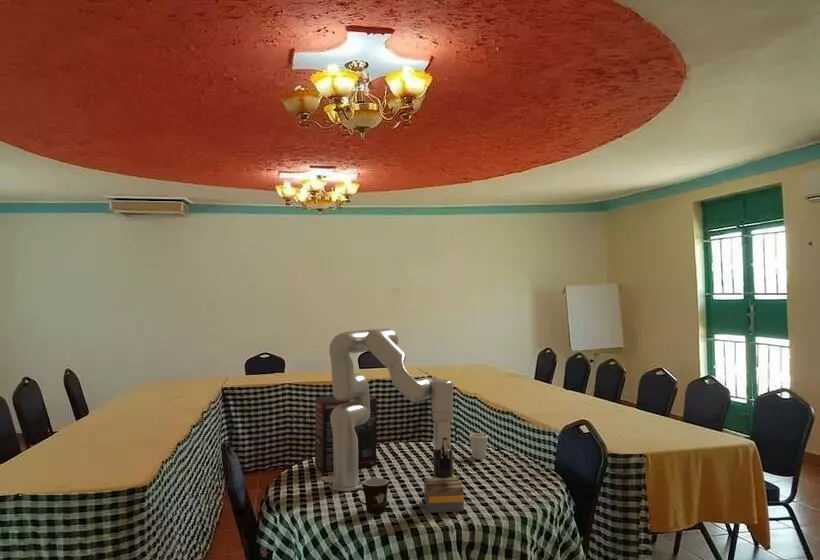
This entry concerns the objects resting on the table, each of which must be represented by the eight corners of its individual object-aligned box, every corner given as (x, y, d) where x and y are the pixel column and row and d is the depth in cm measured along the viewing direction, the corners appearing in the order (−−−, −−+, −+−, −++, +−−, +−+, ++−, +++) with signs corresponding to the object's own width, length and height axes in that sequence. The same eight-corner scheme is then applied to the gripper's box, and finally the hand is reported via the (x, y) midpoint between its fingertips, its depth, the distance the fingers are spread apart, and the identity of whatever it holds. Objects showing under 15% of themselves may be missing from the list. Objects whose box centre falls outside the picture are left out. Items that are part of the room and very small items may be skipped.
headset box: (367, 458, 285) (366, 384, 285) (378, 465, 273) (377, 388, 273) (314, 465, 274) (313, 389, 275) (323, 473, 263) (322, 393, 263)
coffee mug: (388, 506, 222) (388, 478, 222) (388, 515, 213) (388, 485, 214) (355, 507, 222) (355, 478, 222) (353, 516, 213) (353, 486, 213)
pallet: (428, 493, 216) (428, 488, 216) (424, 482, 228) (424, 478, 228) (463, 491, 217) (463, 487, 217) (457, 481, 229) (457, 477, 229)
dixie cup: (491, 456, 286) (491, 434, 286) (483, 461, 279) (483, 438, 279) (474, 454, 290) (474, 432, 290) (466, 458, 283) (466, 435, 283)
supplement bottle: (441, 471, 227) (440, 437, 227) (456, 474, 223) (456, 440, 223) (429, 476, 222) (429, 441, 222) (445, 479, 218) (444, 444, 218)
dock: (429, 513, 215) (428, 494, 215) (424, 500, 228) (424, 482, 228) (464, 511, 216) (463, 492, 216) (457, 499, 229) (457, 481, 229)
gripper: (428, 411, 231) (429, 460, 231) (435, 421, 214) (435, 474, 213) (449, 410, 232) (449, 459, 231) (457, 420, 214) (458, 473, 214)
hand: (443, 466), depth 222 cm, fingers closed on supplement bottle, 6 cm apart
